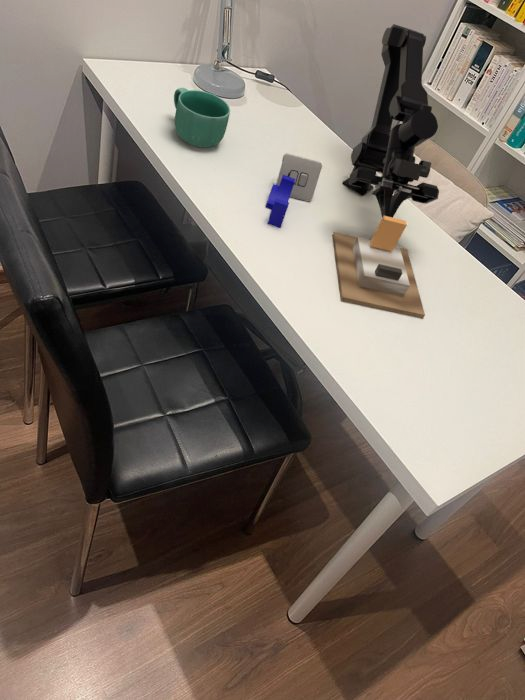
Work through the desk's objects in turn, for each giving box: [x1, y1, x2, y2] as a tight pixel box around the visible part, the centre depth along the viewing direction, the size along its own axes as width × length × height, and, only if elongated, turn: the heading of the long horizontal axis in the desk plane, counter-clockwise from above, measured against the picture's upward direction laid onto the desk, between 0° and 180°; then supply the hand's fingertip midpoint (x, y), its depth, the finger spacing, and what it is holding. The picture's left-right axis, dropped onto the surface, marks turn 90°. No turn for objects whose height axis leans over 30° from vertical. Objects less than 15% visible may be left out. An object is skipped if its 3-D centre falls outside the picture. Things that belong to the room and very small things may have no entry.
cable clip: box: [265, 175, 295, 229], centre depth 128 cm, size 12×4×6 cm, turn 171°
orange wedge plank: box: [370, 215, 408, 251], centre depth 121 cm, size 7×5×2 cm
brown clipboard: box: [331, 231, 426, 319], centre depth 122 cm, size 22×18×6 cm
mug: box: [173, 87, 231, 148], centre depth 140 cm, size 17×13×10 cm
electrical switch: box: [275, 152, 323, 202], centre depth 135 cm, size 9×5×9 cm, turn 90°
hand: (386, 224), depth 123 cm, fingers closed
